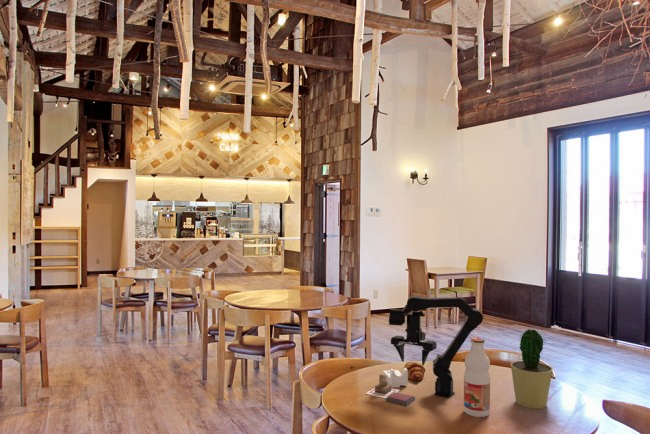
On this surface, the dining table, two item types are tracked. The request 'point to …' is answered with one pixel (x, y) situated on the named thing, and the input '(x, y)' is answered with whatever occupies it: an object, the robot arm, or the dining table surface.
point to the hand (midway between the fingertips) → (413, 363)
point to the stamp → (382, 385)
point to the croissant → (415, 370)
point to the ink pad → (400, 398)
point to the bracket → (397, 377)
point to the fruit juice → (477, 380)
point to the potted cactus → (531, 373)
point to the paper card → (373, 393)
